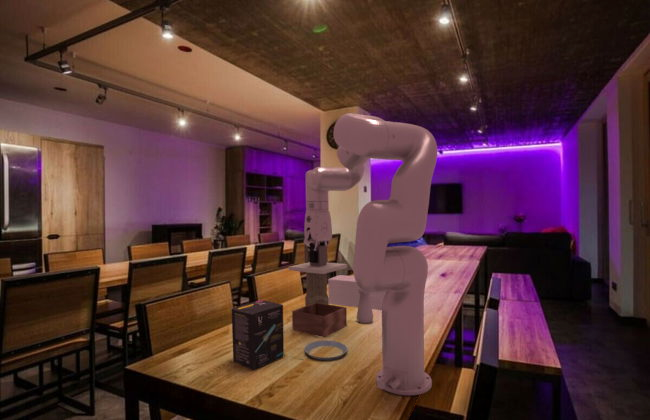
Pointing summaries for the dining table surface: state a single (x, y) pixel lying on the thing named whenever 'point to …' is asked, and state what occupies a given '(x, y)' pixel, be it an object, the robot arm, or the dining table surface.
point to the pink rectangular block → (351, 293)
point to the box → (319, 319)
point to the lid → (319, 264)
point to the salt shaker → (364, 308)
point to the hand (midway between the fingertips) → (318, 261)
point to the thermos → (315, 284)
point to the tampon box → (257, 333)
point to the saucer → (325, 343)
